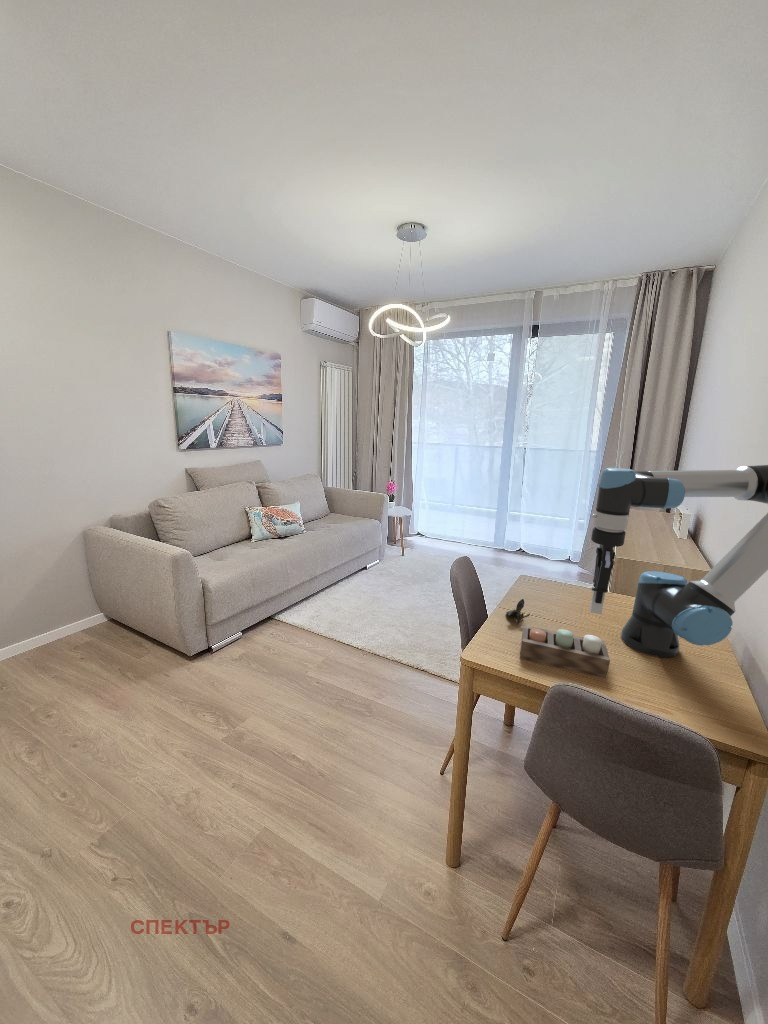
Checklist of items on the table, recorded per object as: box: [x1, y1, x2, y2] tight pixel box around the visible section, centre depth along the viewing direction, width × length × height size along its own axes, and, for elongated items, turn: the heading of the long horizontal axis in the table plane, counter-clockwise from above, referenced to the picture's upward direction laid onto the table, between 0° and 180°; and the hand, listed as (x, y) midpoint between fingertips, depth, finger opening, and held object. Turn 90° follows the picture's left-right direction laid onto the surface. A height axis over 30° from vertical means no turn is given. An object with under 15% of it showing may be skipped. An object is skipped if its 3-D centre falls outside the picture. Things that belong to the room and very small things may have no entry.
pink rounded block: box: [529, 628, 546, 643], centre depth 119 cm, size 4×4×5 cm
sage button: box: [555, 628, 575, 649], centre depth 116 cm, size 4×4×5 cm
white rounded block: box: [582, 634, 603, 655], centre depth 114 cm, size 4×4×5 cm
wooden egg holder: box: [519, 624, 611, 680], centre depth 117 cm, size 22×10×6 cm, turn 69°
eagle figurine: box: [505, 598, 531, 626], centre depth 139 cm, size 8×7×9 cm
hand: (595, 612), depth 112 cm, fingers closed
